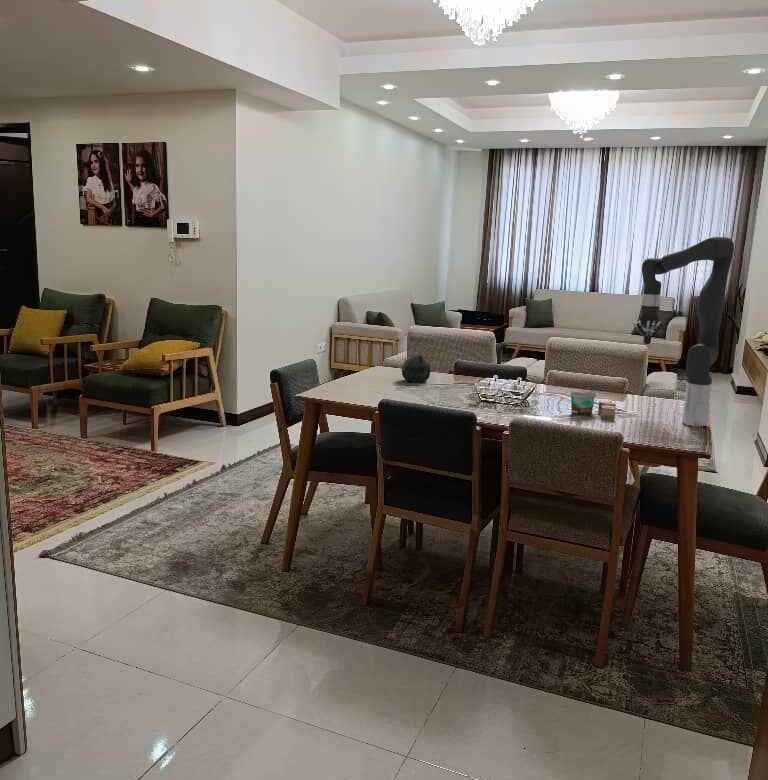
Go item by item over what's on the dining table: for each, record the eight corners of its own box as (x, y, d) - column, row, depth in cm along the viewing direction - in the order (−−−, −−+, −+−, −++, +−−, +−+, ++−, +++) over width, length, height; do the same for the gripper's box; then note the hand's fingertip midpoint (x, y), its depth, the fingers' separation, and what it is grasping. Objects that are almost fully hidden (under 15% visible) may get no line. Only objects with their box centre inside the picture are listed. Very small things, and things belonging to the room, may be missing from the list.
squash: (399, 367, 375) (403, 349, 363) (427, 368, 377) (432, 350, 365) (401, 389, 366) (405, 371, 354) (429, 390, 368) (434, 372, 356)
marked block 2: (614, 420, 294) (615, 408, 293) (601, 419, 295) (602, 407, 294) (612, 417, 299) (613, 405, 298) (600, 416, 300) (601, 404, 299)
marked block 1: (614, 415, 303) (615, 403, 302) (604, 415, 302) (605, 403, 301) (608, 412, 308) (609, 400, 307) (598, 412, 307) (599, 401, 306)
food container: (577, 417, 298) (579, 394, 296) (568, 413, 303) (570, 391, 301) (601, 415, 303) (603, 392, 301) (591, 411, 308) (593, 389, 306)
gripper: (639, 305, 303) (636, 345, 306) (669, 305, 304) (665, 345, 308) (632, 303, 310) (628, 342, 314) (661, 304, 311) (657, 343, 315)
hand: (646, 344), depth 311 cm, fingers closed
